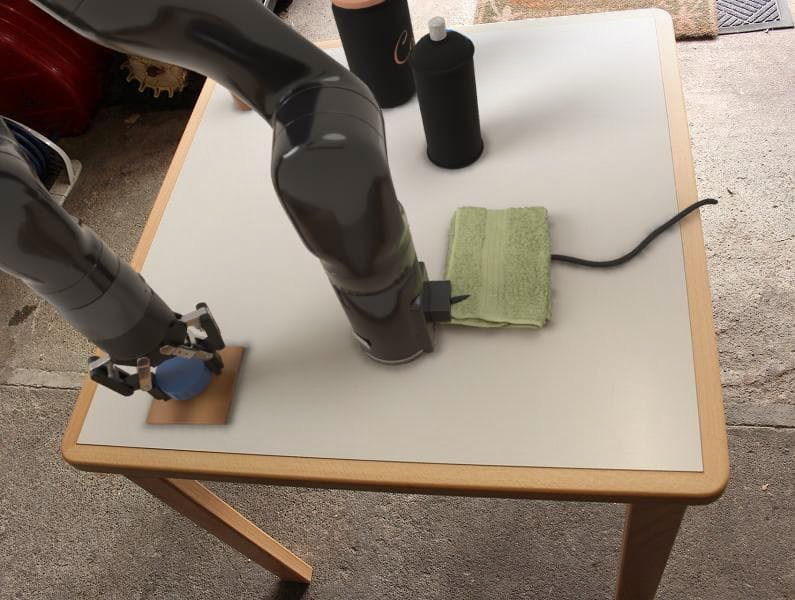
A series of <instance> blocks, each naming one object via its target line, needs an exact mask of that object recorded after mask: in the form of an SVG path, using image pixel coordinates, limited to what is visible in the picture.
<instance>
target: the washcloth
mask: <svg viewBox="0 0 795 600" xmlns="http://www.w3.org/2000/svg"><path fill="white" fill-rule="evenodd" d="M548 212H549V210H548V209H547V207H545V206H541V205H540V206H539V205H537V206H530V207H529V206H524V207H521V206H519V207H508V208H507V209H493V210H492V209H487V207H481V206H472V205H468V206H464V205H463V206H460V207H457V208H456V210H455V211H454V212H453V214H452V218H451V220H450V223H449V226H450V229H449V232H448V234H449V238H448V241H449V246H448V252H447V260H446V270H445V272H444V275H445V278H444V280H450V282H451V286H452V292H451V298H452V297H457V296H461V295H470V296H469V297H468V298H467V299H466V300H463V301H461V302H457V303H453V304H451V322H439V324H440V325H446V324H447V325H451V324H456V325H464V326H471V327H478V328H479V327H480V328H506V329H507V328H508V329H509V328H510V329H515V328H517V329H532V330H541V329H542V328H543V325H546V324H547V323H549V322H550V321H551V317H552V316H553V314H552V313H553V305H554V303H553V300H552V295H553V291H552V278H551V277H552V268H551V267H552V263H551V262H552V260H551V259H550V258H551V254H552V253H551V252H552V251H551V246H552V245H551V243H550V242H551V235H550V234H551V230H550V222H549V213H548Z"/></svg>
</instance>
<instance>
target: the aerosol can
mask: <svg viewBox="0 0 795 600" xmlns="http://www.w3.org/2000/svg"><path fill="white" fill-rule="evenodd" d="M427 24H428V31H429V32H428V33H426V34H424V35H423V36H422V37H420V38H419V39H418V41H417V42H415V45H414V46H413V47H412V49H411V51H410V53H409V55H408V62H409V65H410V66H411V68H412V71H413V76H414V81H415V87H416V96H417V101H418V106H419V111H420V117H421V122H422V127H423V132H424V136H425V142H426V156H427V158H428V160H429V162H431V163H432V164H433V165H435V166H436V167H438V168H441V169H446V170H456V169H463V168H466V167H469V166H470V165H471V164H473V163H475V162H476V161H477V160H478V159H479V158H480V157H481V156H482V154H483V153H484V148H485V142H484V140H483V138H482V132H481V130H482V129H481V120H480V112H479V111H480V110H479V101H478V90H477V80H476V69H475V61H474V56H475V51H476V50H475V48H476V47H475V44H474V42H473V41H472V39H471V38H469V37H468V36H467V35H465V34H463V33H460V32H459V31H456V30H453V29H448V28H446V27H447V26H446V20H445V18H444V17H442V16H433V17H431V19H429V21H428V22H427Z"/></svg>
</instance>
